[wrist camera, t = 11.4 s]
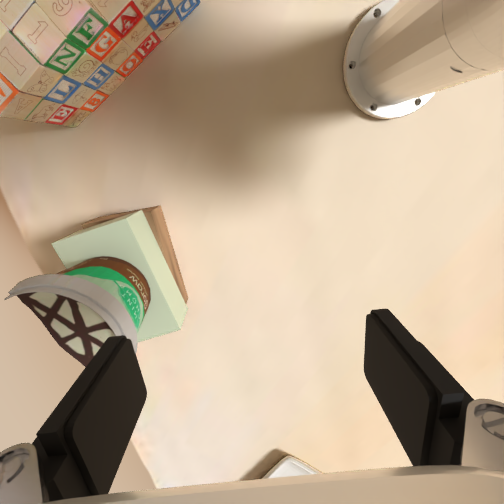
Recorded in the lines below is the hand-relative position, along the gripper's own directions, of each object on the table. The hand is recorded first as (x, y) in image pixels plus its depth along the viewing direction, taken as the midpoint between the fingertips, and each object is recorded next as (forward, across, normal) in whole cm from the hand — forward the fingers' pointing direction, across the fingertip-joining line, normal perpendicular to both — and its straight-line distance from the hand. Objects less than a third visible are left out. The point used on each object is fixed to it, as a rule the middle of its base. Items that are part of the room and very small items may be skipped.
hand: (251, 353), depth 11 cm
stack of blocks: (+30, +13, -21) cm, 39 cm away
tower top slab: (+26, +16, +6) cm, 31 cm away
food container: (+21, +14, +5) cm, 26 cm away
